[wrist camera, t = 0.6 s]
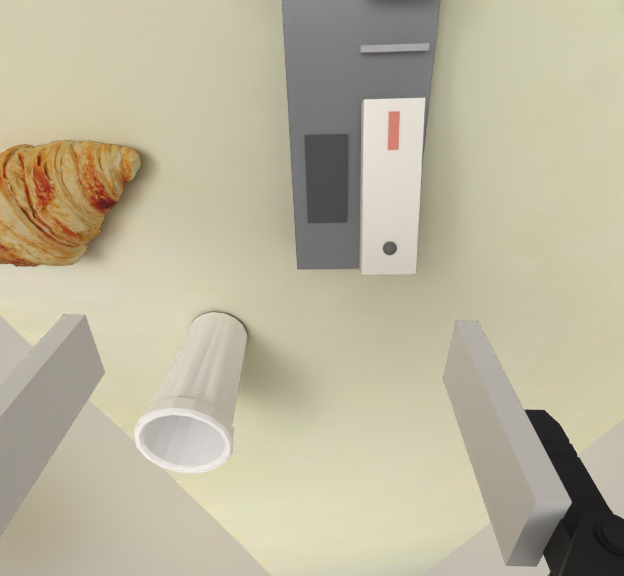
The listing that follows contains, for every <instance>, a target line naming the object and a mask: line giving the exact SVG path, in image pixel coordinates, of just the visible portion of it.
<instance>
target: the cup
mask: <svg viewBox="0 0 624 576" xmlns="http://www.w3.org/2000/svg"><path fill="white" fill-rule="evenodd" d="M246 344H247V333H246V331H245V328H244V326H243V325H242V324H241V323H240V322H239V321H238V320H237V319H236V318H234V317H232V316H229V315H227V314H225V313H216V312H211V313H207V314H202V315H201V316H199V317H198V318H196V319H195V320H194V321H193V323H192V324H191V326H190V328H189V330H188V332H187V334H186V336H185V338H184V340H183V342H182V344H181V346H180V348H179V350H178V352H177V354H176V356H175V358H174V360H173V362H172V364H171V366H170V368H169V369H168V371H167V373H166V375H165V377H164V379H163V381H162V383H161V385H160V387H159V389H158V391H157V393H156V395H155V397H154V399H153V401H152V403H151V405H150V406H149V407H148V408H146V410H145V411H144V413H143V414H142V416H141V418H140V419H139V421H138V423H137V425H136V427H135V429H134V435H135V442H136V446H137V447H138V449H139V450H140V451H141V452H142V454H143V455H144V456H145V457H146V458H147V459H149V460H150V461H152V462H153V463H155V464H156V465H158V466H160V467H163V468H166V469H169V470H172V471H175V472H183V473H200V472H207V471H211V470H213V469H215V468H217V467H219V466H221V465H223V464H224V463H225V462H226V460H227V459H228V458H229V456H230V455H231V454H232V452H233V432H234V428H233V425H232V424H233V418H234V412H235V406H236V400H237V395H238V389H239V383H240V377H241V371H242V365H243V359H244V353H245V348H246Z"/></svg>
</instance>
